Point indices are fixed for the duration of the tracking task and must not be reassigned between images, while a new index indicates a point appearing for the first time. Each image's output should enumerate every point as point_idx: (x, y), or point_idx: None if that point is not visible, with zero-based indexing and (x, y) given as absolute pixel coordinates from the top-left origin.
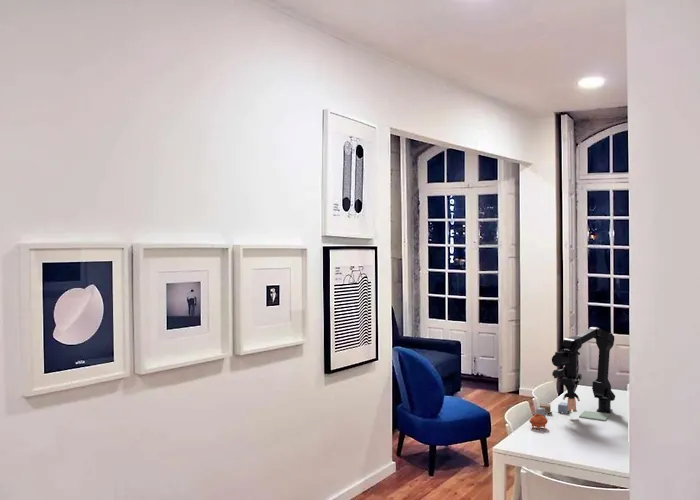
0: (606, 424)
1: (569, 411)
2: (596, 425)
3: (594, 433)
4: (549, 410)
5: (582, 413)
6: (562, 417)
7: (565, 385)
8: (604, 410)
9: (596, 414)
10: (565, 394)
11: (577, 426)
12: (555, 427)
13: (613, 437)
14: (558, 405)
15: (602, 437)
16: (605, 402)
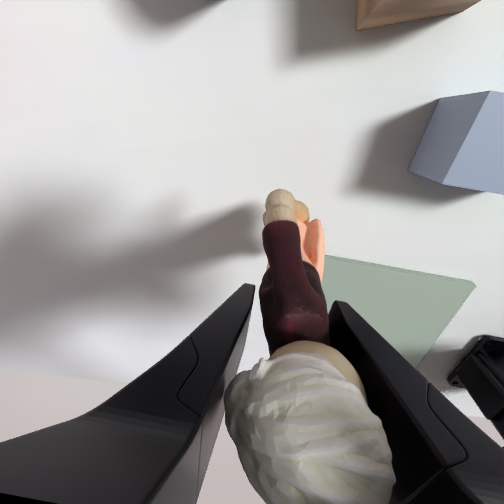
0: None
1: (263, 218)
2: (193, 322)
3: (67, 311)
4: (366, 5)
5: (393, 274)
6: (278, 153)
7: (34, 458)
8: (460, 373)
9: (384, 335)
10: (274, 253)
11: (122, 250)
12: (13, 134)
13: (69, 359)
14: (482, 96)
15: (40, 332)
16: (498, 424)
